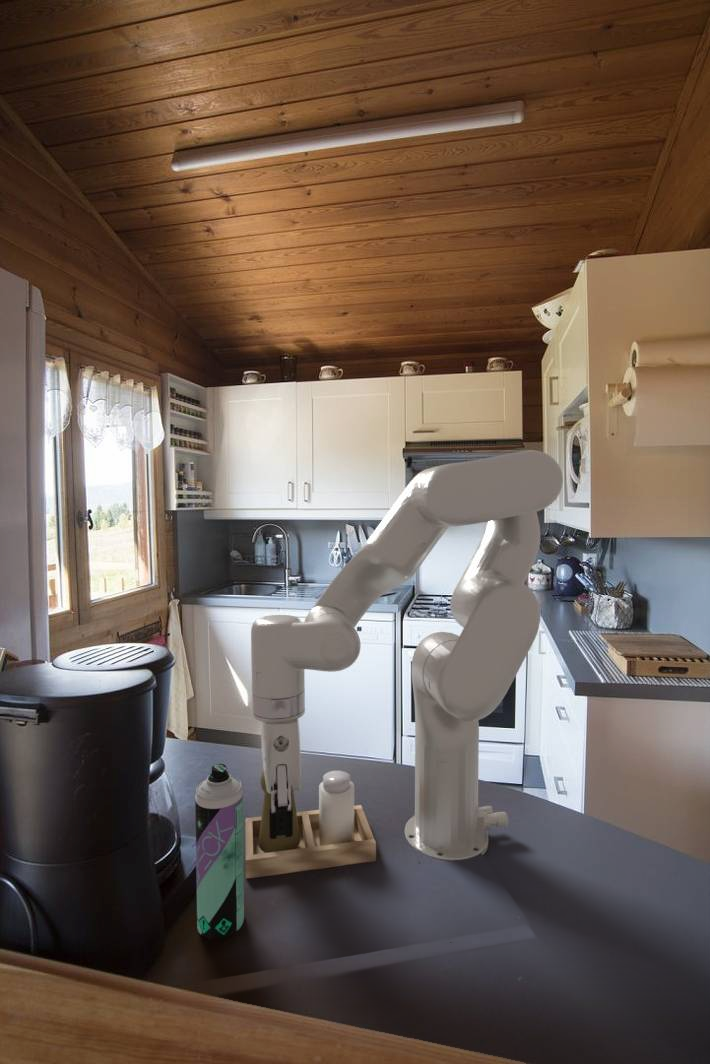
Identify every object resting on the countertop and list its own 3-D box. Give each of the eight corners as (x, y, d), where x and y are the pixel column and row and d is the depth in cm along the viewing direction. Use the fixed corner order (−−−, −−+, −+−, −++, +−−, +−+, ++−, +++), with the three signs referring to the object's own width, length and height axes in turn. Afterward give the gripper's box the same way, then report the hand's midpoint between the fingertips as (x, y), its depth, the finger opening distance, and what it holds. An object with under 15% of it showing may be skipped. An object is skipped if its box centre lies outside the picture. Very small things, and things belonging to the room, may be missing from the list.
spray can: (205, 911, 68) (203, 755, 67) (248, 912, 68) (247, 756, 67) (190, 946, 62) (188, 777, 61) (237, 948, 62) (235, 778, 61)
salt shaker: (350, 830, 83) (350, 767, 83) (357, 851, 78) (357, 784, 77) (317, 834, 82) (316, 770, 81) (322, 856, 77) (321, 788, 76)
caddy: (360, 826, 86) (360, 804, 86) (376, 867, 76) (375, 843, 76) (245, 840, 82) (245, 818, 82) (246, 885, 72) (245, 860, 72)
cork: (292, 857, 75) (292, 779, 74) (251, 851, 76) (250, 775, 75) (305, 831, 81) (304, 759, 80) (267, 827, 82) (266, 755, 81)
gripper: (311, 723, 70) (313, 860, 71) (298, 682, 86) (300, 794, 87) (252, 728, 68) (255, 868, 69) (251, 685, 85) (252, 799, 86)
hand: (280, 825), depth 78 cm, fingers closed on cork, 4 cm apart
